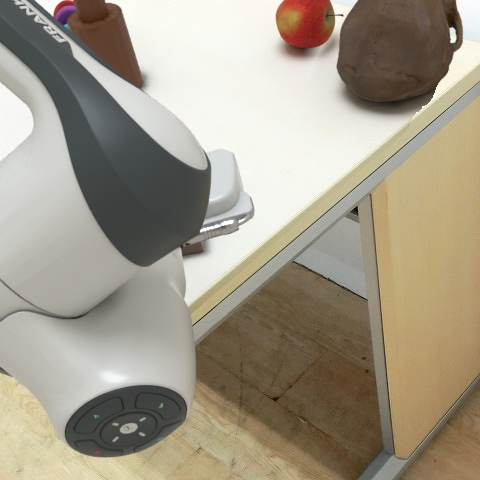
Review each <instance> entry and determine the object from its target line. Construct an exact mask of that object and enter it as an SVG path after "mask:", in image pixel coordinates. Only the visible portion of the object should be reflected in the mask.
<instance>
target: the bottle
mask: <svg viewBox="0 0 480 480" xmlns="http://www.w3.org/2000/svg"><path fill="white" fill-rule="evenodd" d="M72 1H73V2H74V4H75V7H76V10H77V11H75V12H73V13H72V14H71V15H70V16H69V17H68V20H67V24H68V27H69V30H70V32H71V33H73V34H74V35H75V36H76V37H77V38H78V39H79V40H81V41H82V42H83V43H84V44H85V45H86V46H87V47H89V48H90V49H91V50H92V51H93V52H94V53H96V54H97V55H98V56H99V57H100V58H101V59H103V60H104V61H105V62H106V63H108V64H109V65H110V66H111V67H113V68H114V69H115V70H117V71H118V72H119V73H121V74H122V75H123V76H125V77H126V78H127V79H128V80H130V81H131V82H132V83H134V84H135V85H136V86H138V87H139V88H140V89H142V87H143V85H144V79H143V75H142V71H141V68H140V65H139V62H138V59H137V55H136V52H135V51H136V50H135V48H134V46H133V42H132V39H131V35H130V33H129V29H128V25H127V23H126V19H125V16H124V13H123V9H122V7H121V6H120V5H118V4H116V3H113V2H106V0H72Z"/></svg>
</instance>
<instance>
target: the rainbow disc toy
mask: <svg viewBox="0 0 480 480" xmlns="http://www.w3.org/2000/svg"><path fill="white" fill-rule="evenodd" d="M75 11H77V10H76V7H75V4H74V2H73V0H61V1H60V2H58V3H57V4H56V6H55V7H54V9H53V14H52V16H53V17H54V18H56V19H57V20H58V21H59V22H60V23H61V24H62V25H63V26H65V27H66V28H67V29H68V30H69V27H68V24H67V20H68V17H69V16H70V15H71V14H72V13H73V12H75ZM69 31H70V30H69Z"/></svg>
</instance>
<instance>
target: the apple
mask: <svg viewBox="0 0 480 480" xmlns="http://www.w3.org/2000/svg"><path fill="white" fill-rule="evenodd" d="M336 17H344V14H343V13H341V14H340V13H339V14H338V13H337V14H336V13H335V10H334V6H333V4H332V1H331V0H283V1H281V3H280V4H279V5H278V7H277V9H276V12H275V24H276V28H277V31H278V33H279V36H280V38H281V39H282V40H283V41H284V42H285V43H286V44H288V45H290V46H291V47H294V48H299V49H315V48H318V47H320V46H322V45H324V44H326V43H327V42H328V41H329V40H330V39H331V37H332V35H333V33H334V30H335V26H336Z"/></svg>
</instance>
